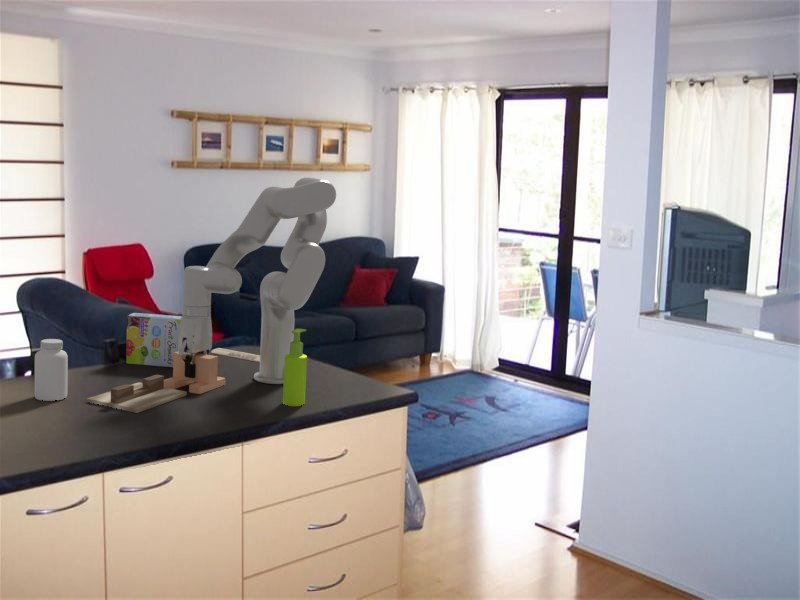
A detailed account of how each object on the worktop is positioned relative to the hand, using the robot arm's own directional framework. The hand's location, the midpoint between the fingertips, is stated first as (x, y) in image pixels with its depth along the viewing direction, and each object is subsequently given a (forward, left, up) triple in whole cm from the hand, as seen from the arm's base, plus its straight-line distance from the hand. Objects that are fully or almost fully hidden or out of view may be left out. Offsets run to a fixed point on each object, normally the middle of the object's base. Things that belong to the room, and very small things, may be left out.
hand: (195, 375), depth 256 cm
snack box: (+22, -14, -3) cm, 26 cm away
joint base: (+4, +19, -3) cm, 20 cm away
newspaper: (+8, -37, -4) cm, 38 cm away
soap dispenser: (-31, -2, -3) cm, 31 cm away
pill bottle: (+22, +31, -3) cm, 38 cm away
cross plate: (0, 0, -3) cm, 3 cm away
